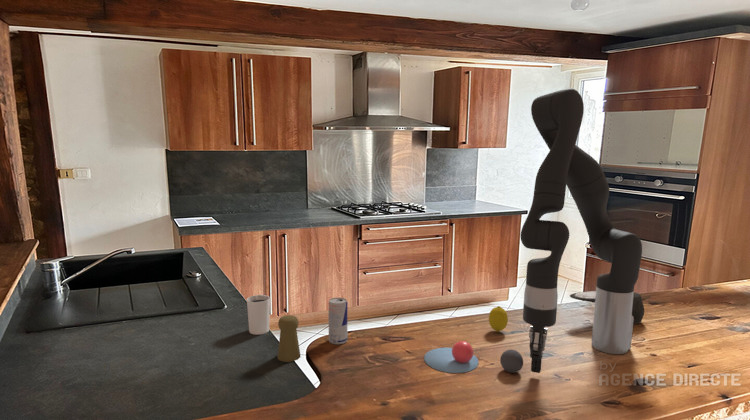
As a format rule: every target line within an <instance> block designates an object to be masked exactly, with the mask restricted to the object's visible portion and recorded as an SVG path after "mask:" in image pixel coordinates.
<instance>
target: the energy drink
mask: <svg viewBox="0 0 750 420" xmlns="http://www.w3.org/2000/svg"><path fill="white" fill-rule="evenodd" d="M348 310H349V309H348V301H347V299H346V298H344V297H332V298H330V299H329V300H328V342H329V343H330V344H332V345H337V346H338V345H344V344H346V342H348Z"/></svg>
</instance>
